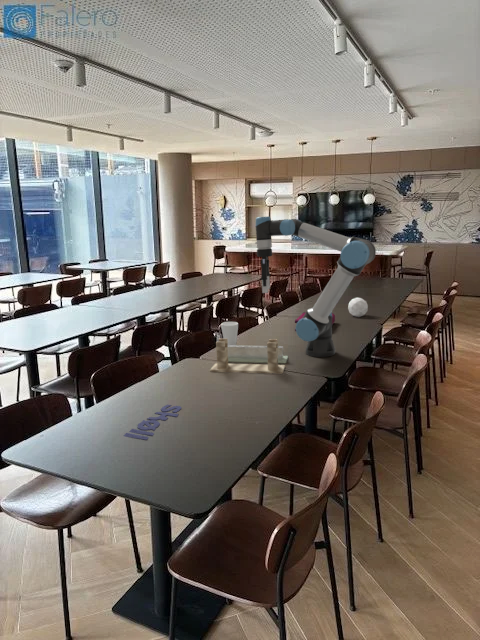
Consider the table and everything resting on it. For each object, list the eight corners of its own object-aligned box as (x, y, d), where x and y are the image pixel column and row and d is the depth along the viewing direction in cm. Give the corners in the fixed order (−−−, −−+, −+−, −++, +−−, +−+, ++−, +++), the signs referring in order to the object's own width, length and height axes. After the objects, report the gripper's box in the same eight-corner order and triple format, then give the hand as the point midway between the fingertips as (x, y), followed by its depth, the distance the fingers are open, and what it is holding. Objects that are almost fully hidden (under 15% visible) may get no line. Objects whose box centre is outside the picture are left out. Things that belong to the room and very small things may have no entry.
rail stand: (284, 367, 225) (284, 338, 222) (282, 373, 216) (282, 344, 213) (215, 365, 232) (214, 337, 229) (210, 371, 222) (208, 342, 219)
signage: (166, 403, 184) (188, 407, 180) (166, 405, 184) (188, 408, 181) (121, 434, 159) (146, 439, 155) (121, 436, 159) (146, 441, 155)
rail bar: (283, 357, 238) (283, 346, 236) (282, 359, 235) (282, 347, 233) (224, 356, 243) (224, 345, 242) (223, 358, 241) (223, 346, 239)
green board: (288, 357, 241) (287, 355, 240) (286, 363, 231) (286, 361, 231) (222, 355, 247) (222, 354, 247) (218, 361, 238) (218, 360, 238)
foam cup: (236, 348, 260) (235, 325, 257) (220, 348, 262) (219, 325, 259) (240, 344, 269) (239, 321, 266) (224, 343, 271) (223, 321, 268)
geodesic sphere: (343, 306, 340) (347, 292, 330) (362, 305, 341) (366, 291, 331) (348, 321, 331) (353, 308, 320) (367, 320, 332) (372, 306, 322)
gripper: (259, 247, 248) (261, 287, 252) (254, 250, 224) (256, 294, 228) (273, 246, 247) (275, 287, 251) (270, 249, 223) (272, 294, 227)
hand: (266, 290), depth 240 cm, fingers open, 13 cm apart
